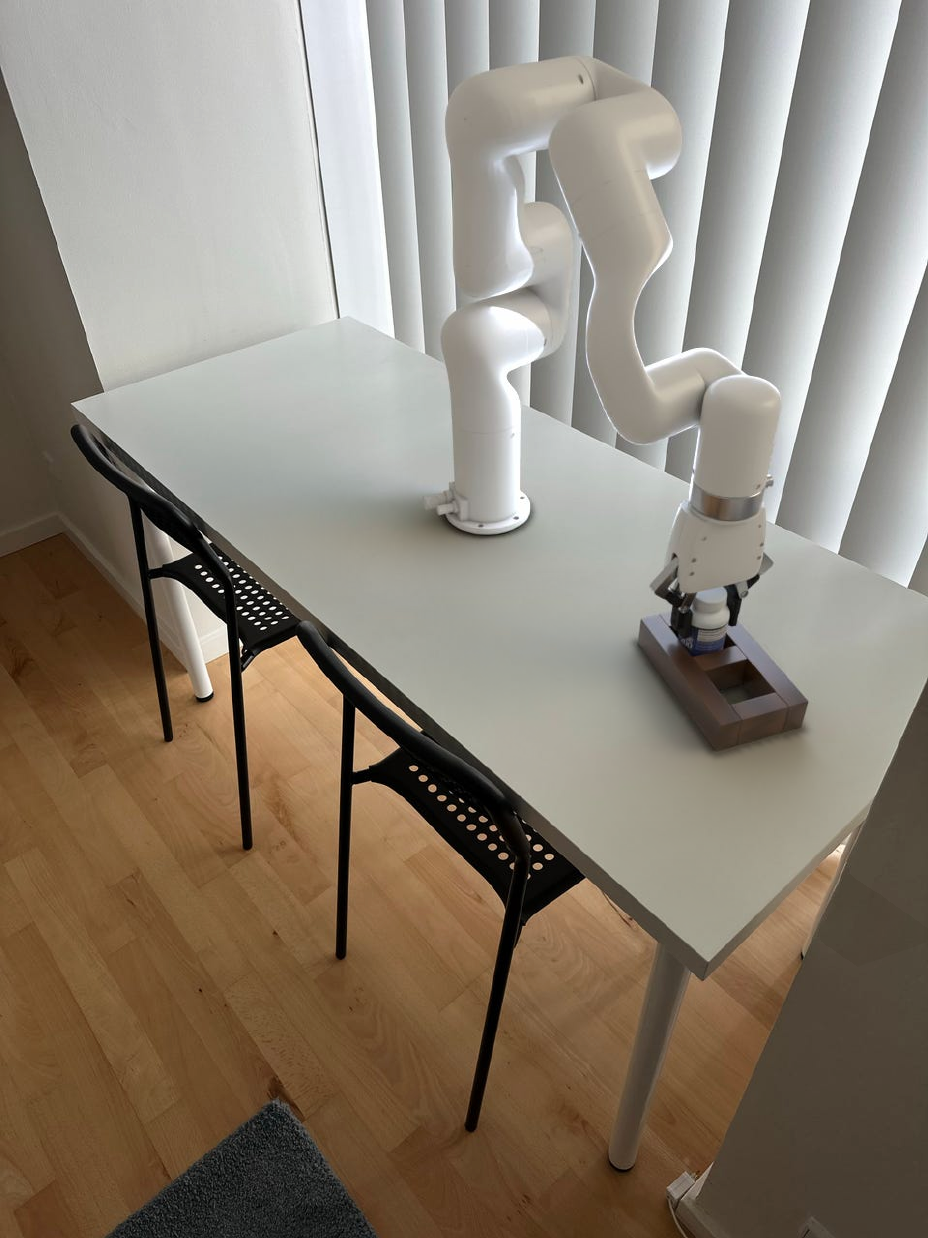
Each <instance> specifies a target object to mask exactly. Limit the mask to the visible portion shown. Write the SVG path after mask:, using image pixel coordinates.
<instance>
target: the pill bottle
mask: <svg viewBox="0 0 928 1238" xmlns="http://www.w3.org/2000/svg"><path fill="white" fill-rule="evenodd" d="M726 600H727V591H726V590H725V588H724V587H723V586H722V587H718V588H714V589H710V590H705V591H701V592H698V593H697V595H696V597H695V599H694V601H693V603H692V605H691V607H690V609H691V610H692V612H693V618H692V624H691V630H690V636H689V637H688V638H686V639H683V638H682V637H681V636H680V634H678V639H679V641H680V642H681V643H682V645H683V646H684V647H685V648H686V650H687V651H688V652H689V654H690V655H691V656H692V657H695V656H699V655H703V654H707V653H710V652H714V651H718V650H722V649H723V646H724V641H725V637H726V632H727V627H728V621H729V616H730V612H729V608H728V606H727V605H726Z"/></svg>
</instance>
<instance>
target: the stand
mask: <svg viewBox="0 0 928 1238" xmlns="http://www.w3.org/2000/svg"><path fill="white" fill-rule="evenodd" d="M671 612H672V610H671V611H667V612H663V613H659V614H654V615H651V616H646V617H643V618H642V617H641V618H640V619H639V620H640V622H639V629H638V636H637V637H638V639H637V644H638V646H639V648H641V650H642V652H643V653H644V654H645V656H646V657H647V658H648V659H649V661H650V662H651V664H652V665H653V667H654V668H655V669H656V670H657V672H658V673H659V675H660V676H661V678H662V679H663V680H664V681H665V683H666V684H667V686H668V687H669V689H670V690H671V691H672V693H673V694H674V695H675V697H676V698H677V699H678V701H679V702H680V704H681V705H682V707H683V708H684V709H685V711H686V712H687V713H688V714H689V716H690V717H691V719H692V720H693V721H694V723H695V724H696V726H697V727H698V728H699V730H700V732H701V733H702V734H703V736H704V737H705V738H706V739H707V741H708V742H709V744H710V745H711V746H712V748H713V749H714V750H715V752H717V751H722V750H725V749H728V748H733V747H735V746H739V745H742V744H746V743H748V742H752V741H756V740H760V739H764V738H767V737H771V736H774V735H778V734H781V733H785V732H789V731H791V730H796V729H798V728H799V729H800V728H802V727H803V723H804V720H805V716H806V713H807V709H808V706H809V700H808V699H807V698H806V697H805V696H804V694H803V693H802V692H801V691H800V690H799V689H798V688H797V686H796V685H795V684H794V682H793V681H791V680H790V678H789V677H788V676H787V675H786V673H784V672H783V670H782V669H781V667H779V666H778V665H777V663H776V662H775V661H774V660H773V659H772V658H771V657H770V655H769V654H768V653H767V652H766V651H765V649H764V648H763V647H762V646H761V645H760V644H759V643H758V642H757V641H756V640H755V638H754V637H753V636H752V634H750V632H749V631H748V630H747V629H746V628H745V627H744V626H743V624H741V622H740V621H739V620H738V619H737V624H736V626H733V627H731V626H729V625H728V627H727V632H726V637H725V641H724V646H723V649H722V650H718V651H714V652H710V653H707V654H703V655H699V656H695V657H692V656H691V655H690V654H689V652H688V651H687V650H686V648H685V647H684V646H683V645H682V643H681V642H680V641H679V639H678V634H679V633H678V632H677V630H674V629H673V627H672V626H671V623H670V619H671ZM739 685H743V687H745V688H746V690H747V691H748V692H749V694H750V695H752V697H753V698H751V699H747V700H743V701H740V702H736V703H732V704H730V703H729V702H728V701H727V699H726V698H725V697H724V696H723V695H722V693H721V692H720V691H721V690H725V689H729V688H732V687H735V686H739Z"/></svg>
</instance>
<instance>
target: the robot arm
mask: <svg viewBox="0 0 928 1238" xmlns="http://www.w3.org/2000/svg"><path fill="white" fill-rule="evenodd" d="M444 134H445V143H446V148H447V153H448V154H447V155H448V158H449V163H450V168H451V175H452V268H453V275H454V279H455V282H456V283H457V286H458V288H459V289H460V290H461V292H463V294H465V295H466V296H469V297H472V298H476V299H480V300H478V301H474V302H471V303H468V304H466V305H463V306H462V307H459V308H458V309H456V310H454V311H453V312H452V313H450V315H448V317H447V318H446V319H445V321H444V322H443V323H442V326H441V329H440V337H439V339H440V347H441V353H442V357H443V361H444V364H445V370H446V373H447V378H448V387H449V395H450V412H451V413H450V414H451V428H452V451H453V452H452V453H453V455H452V456H453V476H454V477H453V478H454V481H450V482H448V489H446V490H443V492H442V493H437V494H431V495H426V496H423V497H422V502H423V507H424V509H425V510H431V509H435V510H436V513H437V515H438V516H441V515H445V516H446V519H447V520H448V522H449V523H451V525H452V526H454V527H456V528H457V529H459V530H461V531H464V532H467V533H470V534H474V535H498V534H503V533H506V532H509V531H513V530H515V529H516V528H519V527H520V526H522V525H523V524H524V523H525V522H526V521H527V520H528V519H529V516H530V515H531V514H530V513H531V503H530V500H529V498H528V497H527V495H526V494H525V493H523V492H522V491H521V489H520V488H521V486H520V485H521V401H520V399H519V395H518V393H517V391H516V390H515V388H514V387H513V386H512V385H511V384H510V382H509V381H508V379H507V378H508V377H507V375H508V373H509V372H510V371H512V370H515V369H517V368H520V367H522V366H525V365H528V364H530V363H533V362H535V361H539V360H541V359H543V358H545V357H548V356H550V355H552V354H553V353H555V352H557V350H559V348H560V347H561V346H562V344H563V342H564V340H565V338H566V335H567V330H568V325H569V315H570V307H571V305H570V304H571V297H572V296H571V295H572V285H573V283H572V282H573V276H574V275H573V273H574V261H575V244H574V237H573V234H572V233H573V232H572V229H571V226H570V224H569V221H568V219H567V217H566V215H565V214H564V213H563V211H562V210H560V209H559V208H558V206H556V205H554V204H552V203H550V202H546V201H531V202H526V203H525V198H526V181H525V179H526V178H525V174H524V171H523V167H522V165H521V163H520V162H519V159H518V157H517V156H518V155H519V156H520V155H525V154H529V153H533V152H539V151H545V150H548V155H549V160H550V161H549V162H550V165H551V167H552V170H553V173H554V175H555V178H556V181H557V184H558V186H559V188H560V191H561V194H562V196H563V199H564V201H565V204H566V207H567V209H568V212H569V214H570V217H571V220H572V222H573V225H574V227H575V229H576V232H577V235H578V238H579V240H580V242H581V246H582V247H583V251H584V253H585V256H586V259H587V261H588V263H589V266H590V268H591V272H592V275H593V279H594V280H593V281H594V284H593V289H592V294H591V298H590V301H589V305H588V310H587V314H586V315H587V316H586V323H585V324H586V325H585V326H586V327H585V357H586V363H587V368H588V371H589V374H590V378H591V381H592V383H593V385H594V388H595V390H596V393H597V395H598V397H599V400H600V403H601V405H602V407H603V411H604V412H605V414H606V416H607V418H608V420H609V422H610V423H611V425H612V427H613V428H614V430H615V431H616V433H618V435H620V436H621V437H622V438H623V439H624V440H625V441H627V442H629V443H631V444H633V445H639V446H649V445H653V444H656V443H659V442H661V441H664V440H666V439H668V438H670V437H673V436H676V435H677V434H679V433H682V432H684V431H686V430H688V429H691V428H698V432H697V440H696V446H695V453H694V459H693V460H694V461H693V467H692V474H691V480H690V486H689V487H690V488H689V494H688V499H686V500H685V499H684V500H683V501H681V503H680V505H679V507H678V509H677V511H676V514H675V516H674V520H673V522H672V525H671V528H670V533H669V536H668V541H667V543H666V548H665V549H666V551H665V554H664V560H663V569H662V570H661V572H660V573H659V574H658V575H656V577H655V578H654V579H653V581H652V582H650V584H649V588H650V590H651V591H652V592H653V593H654V595H655V596H657V597H659V598H660V599H662V600H664V601H666V602H667V603H668V604H669V605H671V611H672V612H671V619H670V623H671V626H672V627H673V629H674V630H677V632H678V633H679V634H680V636H681V637H682V638H683V639H686V638H688V637H689V636H690V630H691V624H692V618H693V612H692V610H691V609H690V607H691V605H692V603H693V601H694V599H695V597H696V595H697V593H698V592H701V591H705V590H710V589H714V588H718V587H724V588H725V590H726V591H727V600H726V605H727V606H728V608H729V612H730V616H729V621H728V625H729V626H731V627H733V626H736V624H737V620H738V619H739V614H740V612H741V607H742V602H743V600H744V599H745V598H747V597H748V596H749V593H750V591H749V590H750V589H751V588H752V587H753V586H754V585H755V584H756V583H757V582H758V581H759V580H760V578H761V576H763V575H764V574H765V573H766V572H768V570H770V569H771V568H772V567H773V566H774V561H773V560H772V559H771V558H770V557H769V555H767V554H766V552H765V544H766V537H767V535H766V534H767V510H766V503H765V501H764V497H765V491H766V490H767V489H769V488H772V487H773V486H774V482H775V481H774V477H773V476H772V475H771V474H769V472H770V467H771V462H772V457H773V452H774V448H775V442H776V439H777V432H778V427H779V422H780V417H781V412H782V406H783V401H782V396H781V395H782V394H781V393H780V391H779V389H778V387H776V386H775V385H774V384H773V383H772V382H770V381H768V380H766V379H765V378H761V377H757V376H751V375H748V373H747V374H746V373H745V372H744V371H742V369H740V368H739V367H738V366H737V365H735V364H734V363H733V362H732V361H730V360H729V359H728V358H727V357H726V356H724V355H722V354H721V353H720V352H718V351H716V350H715V349H712V348H708V347H697V348H693V349H688V350H686V351H684V352H681V353H679V354H677V355H674V356H671V357H668V358H665V359H662V360H660V361H657V362H654V363H652V364H650V365H647V366H645V365H644V362H643V360H642V357H641V355H640V352H639V349H638V345H637V341H636V335H635V322H634V321H635V313H636V312H635V311H636V307H637V304H638V301H639V297H640V295H641V293H642V290H643V289H644V288H645V286H646V284H647V282H648V281H649V280H650V278H651V276H653V274H654V273H655V272H656V271H657V270H658V269H659V268H660V267H661V266H662V265H663V264H664V263H665V261H666V260H667V259H668V258H669V256H670V254H671V253H672V250H673V246H674V245H673V244H674V243H673V242H674V241H673V236H672V234H671V232H670V229H669V226H668V224H667V221H666V218H665V216H664V213H663V211H662V207H661V205H660V202H659V199H658V197H657V194H656V192H655V189H654V187H653V184H652V181H651V180H654V179H658V178H659V177H662V176H665V175H666V174H667V173H669V172H670V171H671V170H673V168H674V167H675V166H676V164H677V162H678V161H679V158H680V156H681V153H682V149H683V130H682V124H681V122H680V118H679V115H678V114H677V112H676V110H675V108H674V107H673V106H672V104H671V103H670V102H669V100H668V99H667V98H666V97H665V96H664V95H663V94H662V93H660V92H659V91H658V90H656V89H655V88H653V87H652V86H651V85H648V84H647V83H645V82H643V81H641V80H639V79H637V78H635V77H633V76H631V75H629V74H627V73H625V72H624V71H622V70H619V69H618V68H616V67H614V66H613V65H610V64H608V63H607V62H604V61H602V60H600V59H598V58H595V57H593V56H588V55H568V56H560V57H555V58H548V59H545V60H544V59H543V60H539V61H531V62H524V63H519V64H513V65H508V66H502V67H497V68H493V69H490V70H486V71H481V72H479V73H476V74H474V75H472V76H469V77H468V78H466V79H464V80H463V81H461V82H460V83H458V84H457V86H456V87H455V88H454V90H453V91H452V93H451V95H450V96H449V99H448V102H447V104H446V110H445V115H444ZM673 583H674V584H673ZM672 584H673V586H672V587H670V586H671V585H672ZM683 593H684V594H683ZM682 594H683V595H682Z"/></svg>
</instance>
